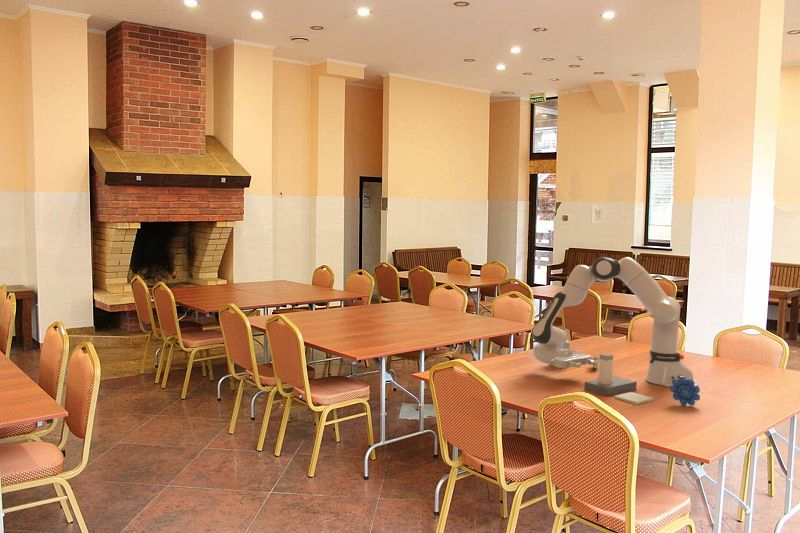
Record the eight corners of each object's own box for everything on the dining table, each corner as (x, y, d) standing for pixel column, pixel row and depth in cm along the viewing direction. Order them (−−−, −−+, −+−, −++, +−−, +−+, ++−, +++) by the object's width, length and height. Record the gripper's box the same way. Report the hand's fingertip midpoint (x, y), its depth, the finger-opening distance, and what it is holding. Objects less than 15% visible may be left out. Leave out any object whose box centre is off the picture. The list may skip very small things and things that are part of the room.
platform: (608, 366, 343) (609, 354, 342) (607, 375, 326) (608, 361, 325) (584, 364, 346) (584, 351, 346) (581, 372, 330) (582, 359, 329)
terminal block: (613, 383, 310) (614, 375, 309) (636, 389, 300) (636, 381, 299) (584, 389, 298) (584, 381, 298) (606, 396, 288) (607, 388, 288)
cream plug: (603, 389, 299) (605, 353, 298) (611, 391, 296) (613, 355, 295) (597, 390, 297) (599, 354, 296) (605, 392, 294) (607, 356, 292)
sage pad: (630, 394, 292) (630, 391, 292) (653, 400, 283) (653, 398, 283) (614, 398, 286) (614, 395, 286) (636, 404, 277) (636, 402, 277)
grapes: (669, 406, 275) (670, 377, 274) (668, 402, 281) (670, 373, 280) (700, 410, 271) (702, 380, 270) (699, 405, 278) (700, 376, 276)
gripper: (547, 354, 310) (570, 360, 298) (577, 349, 321) (600, 354, 310) (546, 367, 310) (570, 374, 299) (576, 362, 322) (600, 368, 311)
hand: (586, 364), depth 305 cm, fingers open, 8 cm apart
